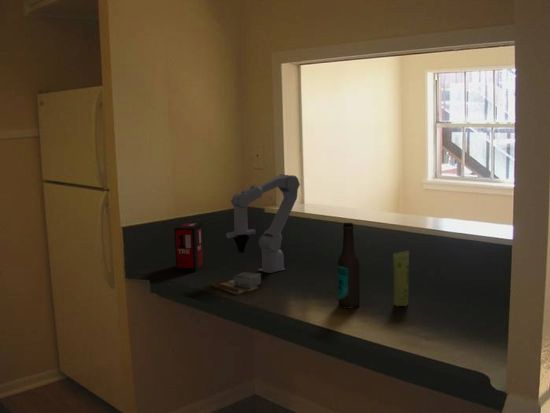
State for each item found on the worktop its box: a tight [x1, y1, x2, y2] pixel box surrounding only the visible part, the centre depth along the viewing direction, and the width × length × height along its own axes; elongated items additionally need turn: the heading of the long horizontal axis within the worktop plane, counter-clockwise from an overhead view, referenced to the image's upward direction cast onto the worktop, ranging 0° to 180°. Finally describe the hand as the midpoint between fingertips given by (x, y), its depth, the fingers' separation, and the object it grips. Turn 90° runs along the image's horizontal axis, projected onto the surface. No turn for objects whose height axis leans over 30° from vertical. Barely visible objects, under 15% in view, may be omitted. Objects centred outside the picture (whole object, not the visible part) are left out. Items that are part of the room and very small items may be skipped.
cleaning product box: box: [173, 221, 206, 273], centre depth 284 cm, size 16×9×20 cm, turn 172°
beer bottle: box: [337, 222, 361, 309], centre depth 218 cm, size 8×8×30 cm
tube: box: [392, 250, 410, 307], centre depth 218 cm, size 6×5×20 cm
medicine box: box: [233, 271, 262, 289], centre depth 248 cm, size 8×4×9 cm
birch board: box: [212, 279, 259, 295], centre depth 248 cm, size 11×16×2 cm
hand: (241, 252), depth 266 cm, fingers closed
